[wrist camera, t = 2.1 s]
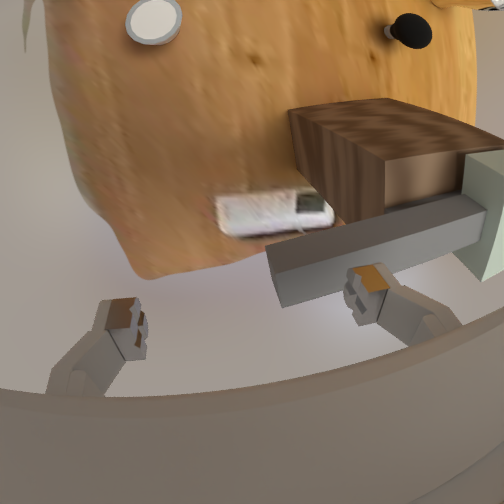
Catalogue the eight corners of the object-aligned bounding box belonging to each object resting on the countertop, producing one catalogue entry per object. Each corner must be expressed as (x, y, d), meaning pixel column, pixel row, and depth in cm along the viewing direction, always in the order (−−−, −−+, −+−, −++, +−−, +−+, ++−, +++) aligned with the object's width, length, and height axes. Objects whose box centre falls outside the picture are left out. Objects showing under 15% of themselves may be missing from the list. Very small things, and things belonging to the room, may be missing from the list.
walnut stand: (297, 169, 46) (384, 272, 24) (287, 109, 40) (390, 164, 18) (390, 151, 46) (502, 227, 25) (387, 98, 41) (517, 146, 19)
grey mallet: (277, 307, 24) (293, 356, 20) (253, 196, 18) (271, 239, 14) (495, 232, 24) (523, 258, 20) (511, 148, 19) (547, 169, 15)
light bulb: (389, 54, 36) (428, 57, 28) (366, 30, 34) (403, 26, 25) (406, 34, 34) (445, 35, 26) (383, 10, 31) (421, 4, 23)
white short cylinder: (135, 11, 28) (124, 0, 22) (184, 3, 29) (181, -9, 23) (137, 53, 32) (126, 49, 26) (185, 45, 32) (183, 39, 27)
